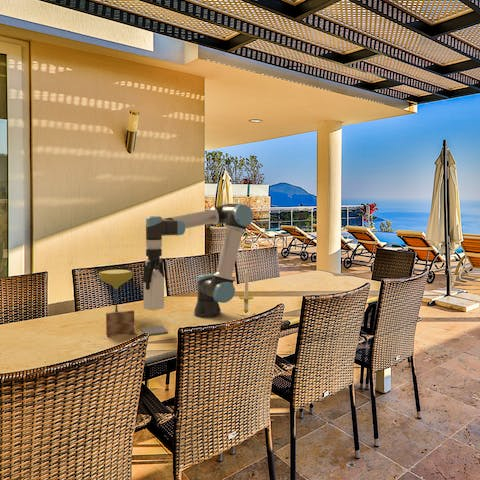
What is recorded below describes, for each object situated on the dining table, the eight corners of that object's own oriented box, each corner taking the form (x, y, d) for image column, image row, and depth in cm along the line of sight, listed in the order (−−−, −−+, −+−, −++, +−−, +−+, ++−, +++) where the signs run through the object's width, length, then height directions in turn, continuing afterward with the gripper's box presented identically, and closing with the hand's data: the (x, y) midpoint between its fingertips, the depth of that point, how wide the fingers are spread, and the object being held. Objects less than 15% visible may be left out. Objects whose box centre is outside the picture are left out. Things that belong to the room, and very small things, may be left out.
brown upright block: (133, 330, 207) (133, 309, 206) (135, 334, 202) (135, 311, 201) (105, 334, 201) (105, 311, 200) (107, 337, 197) (106, 314, 196)
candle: (255, 311, 246) (256, 266, 243) (253, 316, 236) (254, 269, 233) (238, 311, 247) (239, 265, 244) (236, 315, 237) (237, 268, 234)
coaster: (162, 326, 214) (162, 325, 214) (167, 333, 204) (167, 331, 204) (140, 329, 210) (140, 327, 210) (145, 335, 200) (145, 334, 200)
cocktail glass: (118, 308, 247) (118, 267, 244) (139, 314, 237) (139, 270, 234) (92, 315, 232) (91, 271, 229) (114, 321, 222) (113, 275, 219)
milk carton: (143, 308, 205) (143, 270, 203) (154, 305, 211) (154, 268, 209) (153, 311, 201) (152, 272, 199) (164, 308, 206) (164, 270, 205)
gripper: (158, 245, 214) (158, 289, 216) (134, 250, 194) (134, 297, 196) (171, 246, 211) (171, 290, 214) (148, 251, 192) (148, 299, 194)
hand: (153, 293), depth 205 cm, fingers closed on milk carton, 8 cm apart
